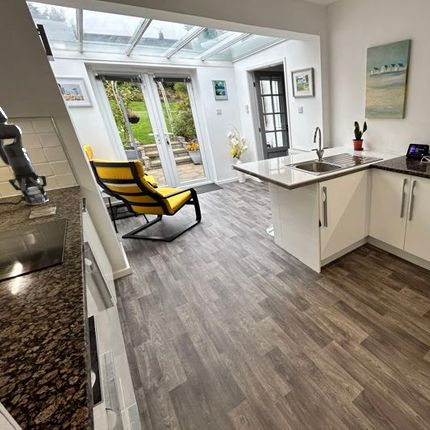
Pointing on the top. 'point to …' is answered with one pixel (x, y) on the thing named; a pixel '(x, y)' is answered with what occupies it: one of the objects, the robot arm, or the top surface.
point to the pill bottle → (35, 195)
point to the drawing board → (42, 213)
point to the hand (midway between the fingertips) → (35, 195)
